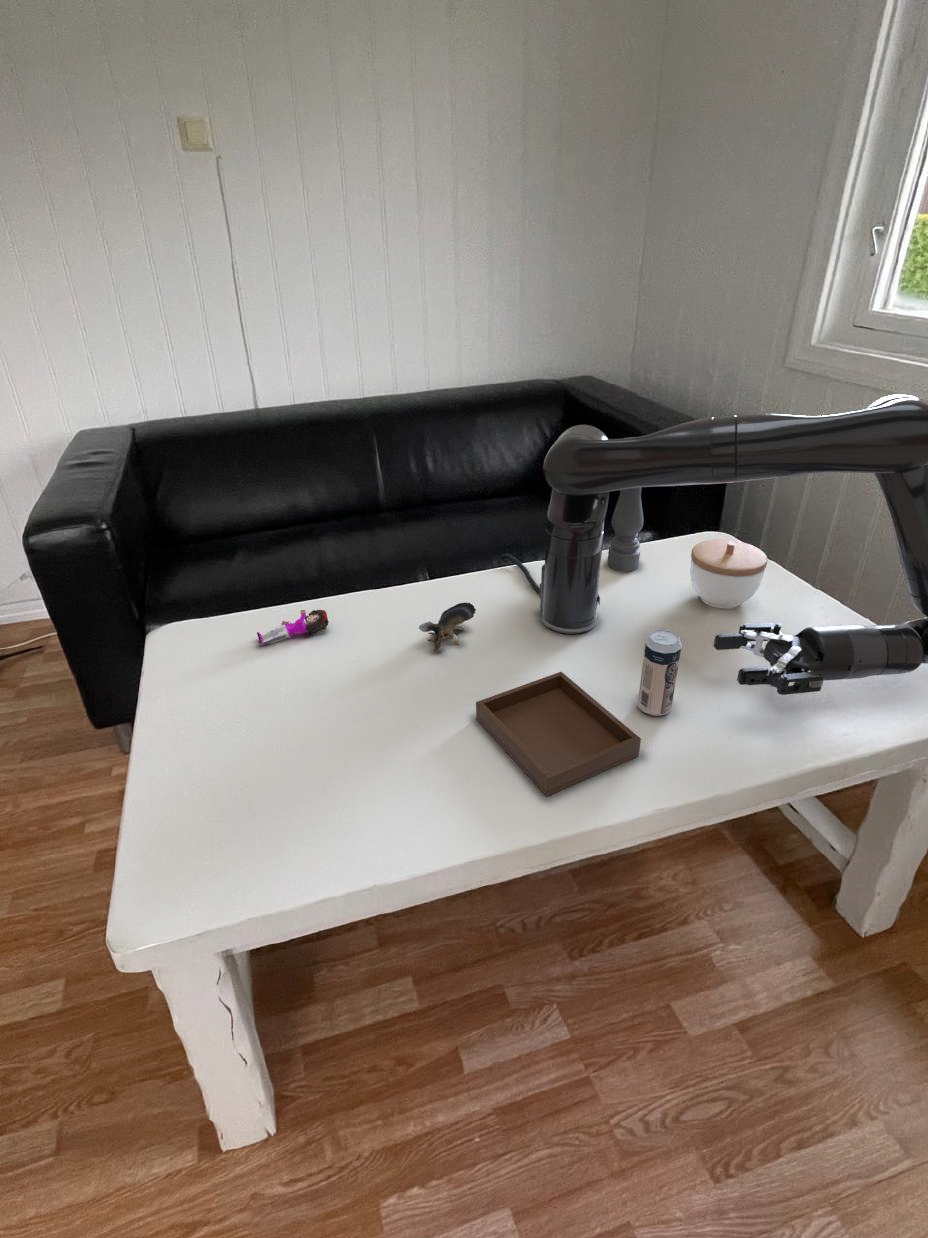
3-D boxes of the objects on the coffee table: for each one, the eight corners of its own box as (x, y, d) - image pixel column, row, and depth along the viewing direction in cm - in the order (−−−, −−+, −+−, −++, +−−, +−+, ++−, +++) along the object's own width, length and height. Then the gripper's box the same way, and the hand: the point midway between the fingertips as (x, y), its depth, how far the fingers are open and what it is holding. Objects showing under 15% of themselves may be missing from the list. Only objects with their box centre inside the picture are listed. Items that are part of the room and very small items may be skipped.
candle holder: (641, 561, 141) (656, 438, 128) (634, 574, 136) (649, 448, 123) (611, 556, 143) (623, 435, 130) (603, 568, 138) (614, 444, 125)
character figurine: (264, 656, 116) (334, 633, 119) (255, 631, 113) (326, 607, 116) (259, 640, 120) (326, 618, 123) (250, 615, 118) (319, 593, 121)
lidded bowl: (753, 586, 131) (764, 531, 125) (761, 620, 120) (775, 562, 114) (683, 580, 133) (691, 526, 128) (685, 613, 123) (695, 556, 117)
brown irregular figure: (466, 653, 111) (486, 618, 117) (439, 621, 109) (461, 586, 115) (433, 664, 116) (454, 629, 122) (407, 633, 114) (429, 599, 120)
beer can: (672, 720, 98) (683, 648, 92) (637, 716, 99) (646, 645, 92) (670, 699, 102) (681, 629, 96) (636, 695, 103) (645, 626, 96)
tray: (475, 718, 99) (475, 701, 97) (560, 687, 105) (561, 671, 103) (546, 797, 86) (547, 779, 84) (638, 756, 91) (641, 738, 90)
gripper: (820, 604, 101) (711, 610, 101) (877, 658, 89) (753, 665, 89) (808, 647, 105) (703, 653, 105) (861, 705, 93) (742, 712, 92)
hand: (726, 659), depth 97 cm, fingers open, 8 cm apart
